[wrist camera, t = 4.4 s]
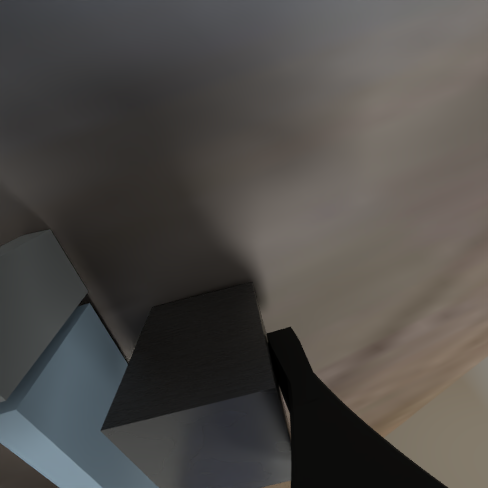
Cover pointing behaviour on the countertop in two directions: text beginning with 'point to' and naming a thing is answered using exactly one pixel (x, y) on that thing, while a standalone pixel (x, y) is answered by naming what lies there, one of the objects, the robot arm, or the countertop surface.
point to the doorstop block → (203, 397)
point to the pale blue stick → (71, 409)
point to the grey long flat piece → (32, 302)
